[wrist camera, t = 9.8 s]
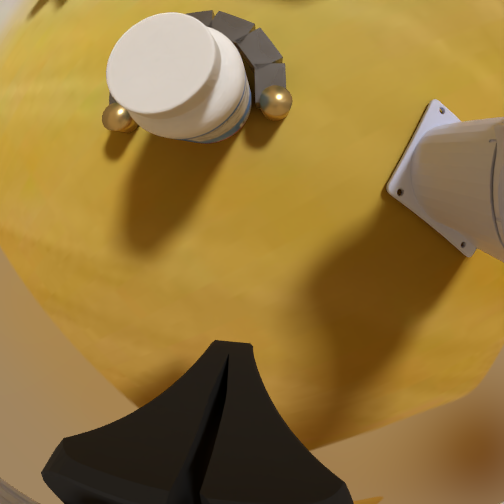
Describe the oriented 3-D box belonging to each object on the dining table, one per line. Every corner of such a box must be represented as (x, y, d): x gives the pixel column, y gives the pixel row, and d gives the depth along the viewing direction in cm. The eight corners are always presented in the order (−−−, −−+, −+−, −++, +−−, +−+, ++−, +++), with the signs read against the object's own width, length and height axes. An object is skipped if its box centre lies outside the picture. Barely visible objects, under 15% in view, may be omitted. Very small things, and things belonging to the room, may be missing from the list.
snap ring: (290, 120, 17) (292, 115, 15) (117, 134, 18) (102, 132, 16) (285, 18, 15) (286, 4, 13) (122, 39, 16) (108, 29, 14)
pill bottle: (155, 96, 17) (69, 57, 8) (224, 52, 16) (186, -28, 7) (196, 161, 18) (129, 165, 9) (269, 116, 17) (269, 72, 8)
